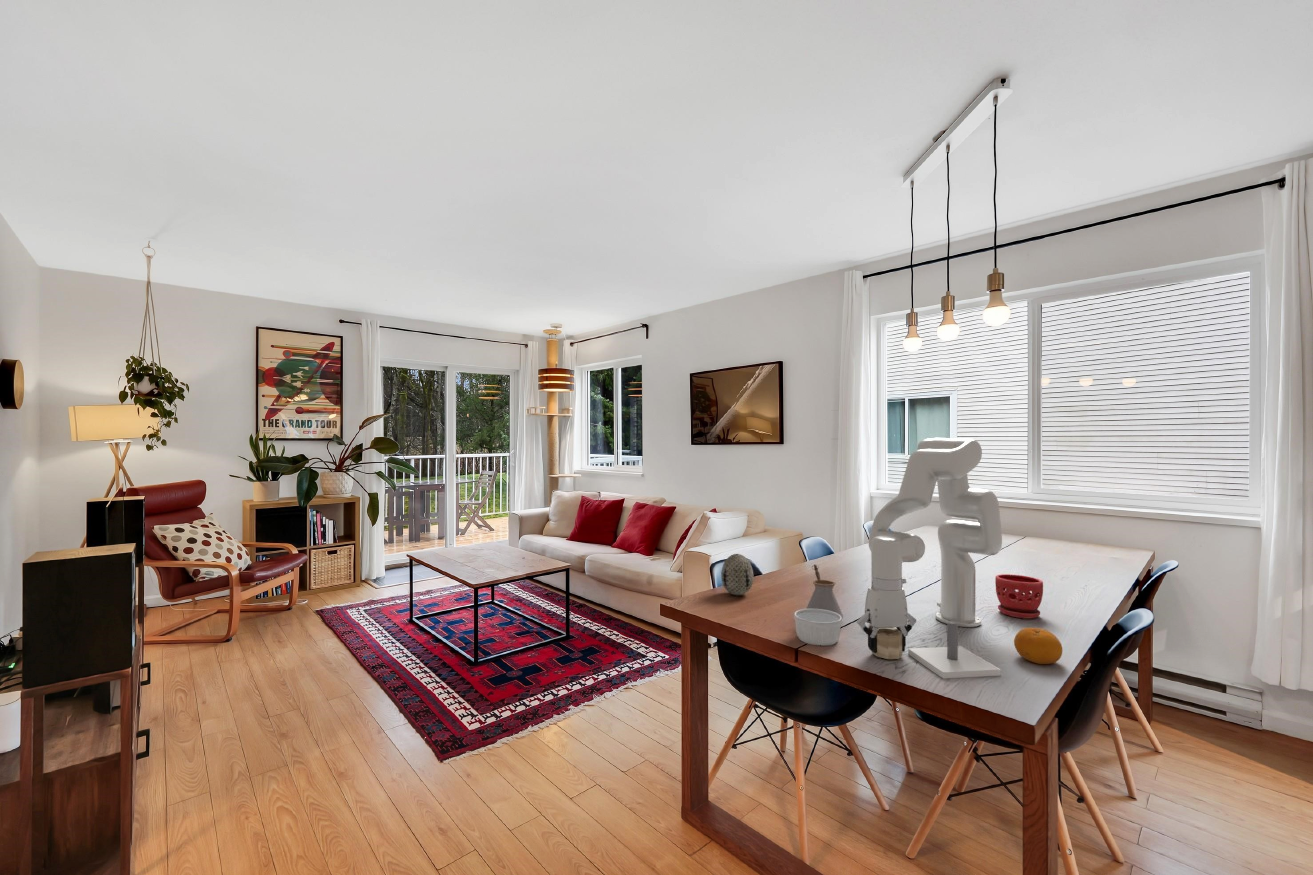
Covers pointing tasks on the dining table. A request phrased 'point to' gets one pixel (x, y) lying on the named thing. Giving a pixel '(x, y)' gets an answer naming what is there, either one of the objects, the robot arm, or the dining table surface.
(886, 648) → the bead
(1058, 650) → the fruit
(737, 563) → the decorative egg
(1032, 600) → the plant pot
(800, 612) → the ramekin
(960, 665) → the post board
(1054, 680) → the dining table surface
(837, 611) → the coffee pot
